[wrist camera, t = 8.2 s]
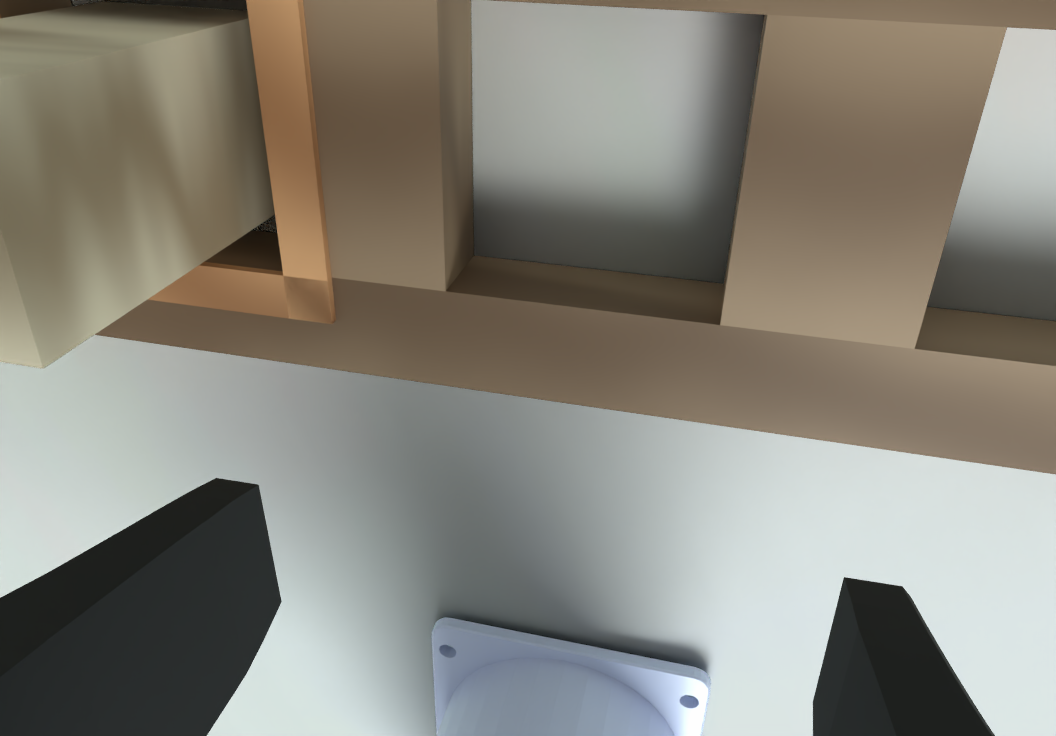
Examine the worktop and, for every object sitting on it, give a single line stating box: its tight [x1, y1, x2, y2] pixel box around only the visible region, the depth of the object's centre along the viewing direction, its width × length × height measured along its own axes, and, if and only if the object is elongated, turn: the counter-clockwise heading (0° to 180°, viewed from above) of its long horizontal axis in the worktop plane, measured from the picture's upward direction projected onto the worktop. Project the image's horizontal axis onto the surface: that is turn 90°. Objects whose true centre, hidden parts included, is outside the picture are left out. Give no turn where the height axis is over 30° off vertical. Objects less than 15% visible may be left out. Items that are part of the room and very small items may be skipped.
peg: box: [0, 1, 275, 369], centre depth 15 cm, size 4×4×8 cm
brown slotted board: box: [0, 0, 1056, 474], centre depth 16 cm, size 10×30×2 cm, turn 89°
